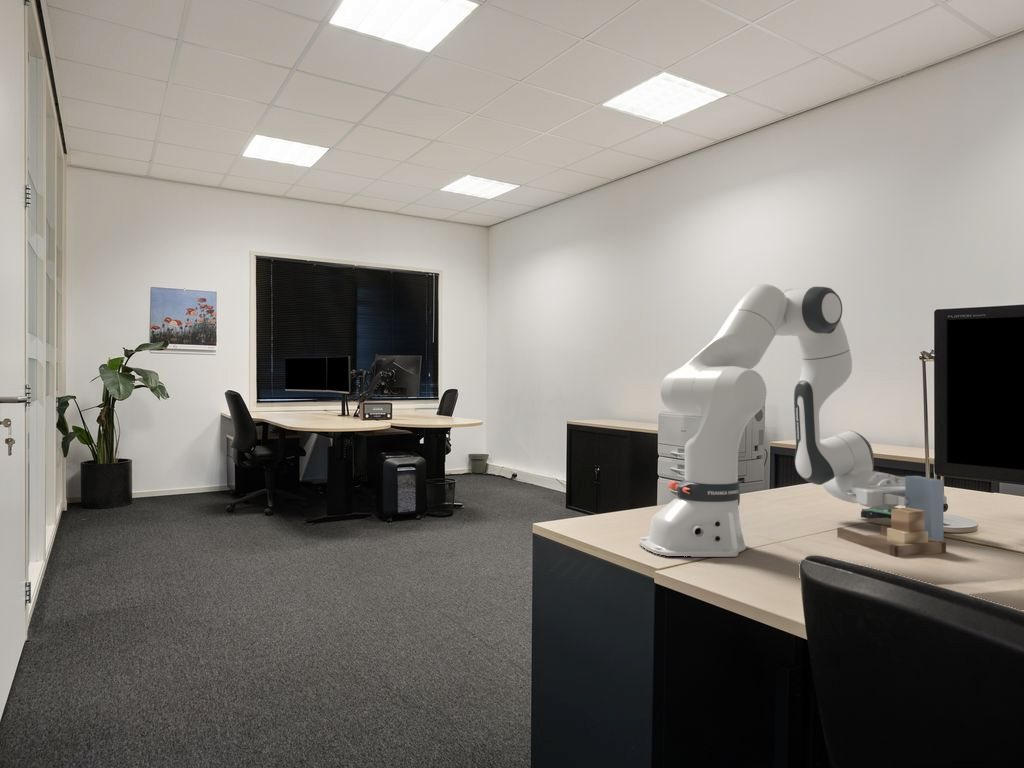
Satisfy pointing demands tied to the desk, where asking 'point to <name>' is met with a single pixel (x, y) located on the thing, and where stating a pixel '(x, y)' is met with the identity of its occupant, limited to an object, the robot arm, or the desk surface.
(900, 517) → the offcut top
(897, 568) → the desk surface
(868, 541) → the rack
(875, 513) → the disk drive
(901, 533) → the block
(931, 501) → the blue rectangular block
